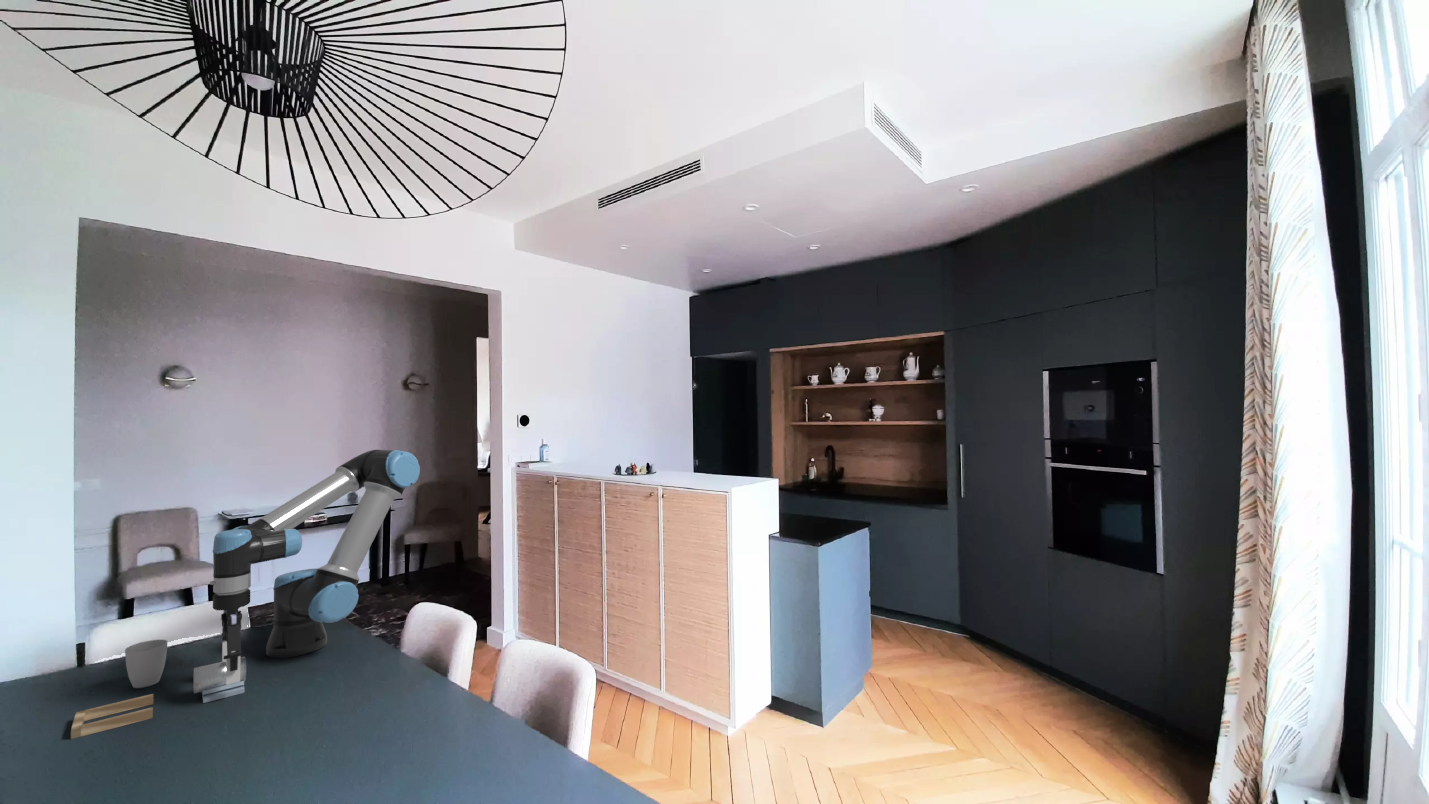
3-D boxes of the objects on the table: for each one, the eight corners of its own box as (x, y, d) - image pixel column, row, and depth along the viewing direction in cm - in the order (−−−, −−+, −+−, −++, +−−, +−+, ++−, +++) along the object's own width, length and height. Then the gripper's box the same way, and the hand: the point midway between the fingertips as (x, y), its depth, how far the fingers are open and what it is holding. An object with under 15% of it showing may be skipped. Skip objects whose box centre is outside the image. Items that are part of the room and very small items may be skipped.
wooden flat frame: (76, 720, 137) (76, 712, 137) (153, 701, 146) (153, 693, 146) (70, 739, 129) (70, 730, 129) (152, 718, 138) (152, 709, 138)
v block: (201, 691, 151) (201, 682, 151) (241, 681, 156) (241, 672, 156) (203, 703, 145) (203, 693, 145) (244, 692, 151) (244, 682, 151)
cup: (175, 677, 159) (176, 640, 159) (143, 691, 151) (144, 652, 151) (148, 675, 160) (149, 638, 160) (115, 690, 152) (115, 651, 152)
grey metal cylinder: (194, 694, 144) (194, 668, 145) (193, 692, 148) (193, 667, 150) (246, 681, 151) (246, 657, 152) (244, 680, 155) (243, 656, 156)
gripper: (210, 583, 159) (209, 662, 158) (216, 606, 140) (214, 695, 140) (245, 578, 164) (244, 654, 163) (255, 599, 146) (254, 685, 145)
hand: (230, 673), depth 152 cm, fingers open, 13 cm apart
